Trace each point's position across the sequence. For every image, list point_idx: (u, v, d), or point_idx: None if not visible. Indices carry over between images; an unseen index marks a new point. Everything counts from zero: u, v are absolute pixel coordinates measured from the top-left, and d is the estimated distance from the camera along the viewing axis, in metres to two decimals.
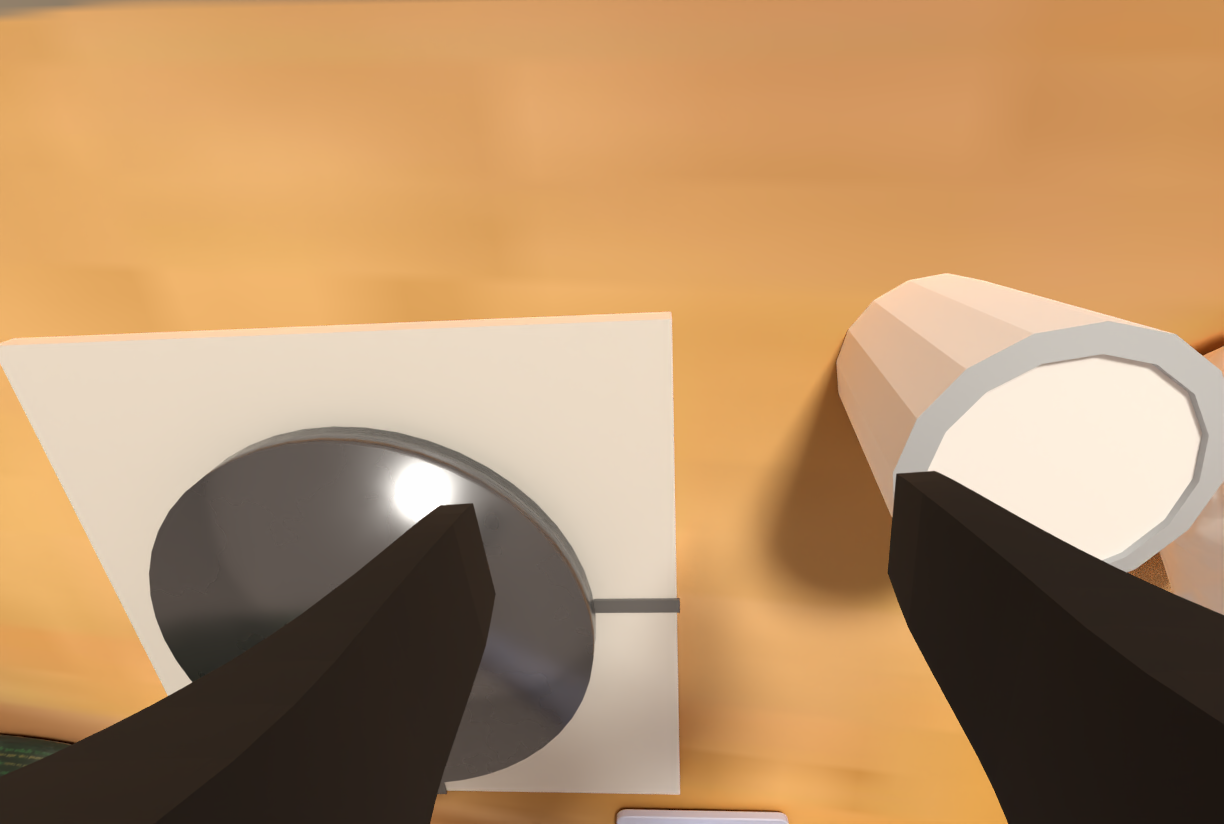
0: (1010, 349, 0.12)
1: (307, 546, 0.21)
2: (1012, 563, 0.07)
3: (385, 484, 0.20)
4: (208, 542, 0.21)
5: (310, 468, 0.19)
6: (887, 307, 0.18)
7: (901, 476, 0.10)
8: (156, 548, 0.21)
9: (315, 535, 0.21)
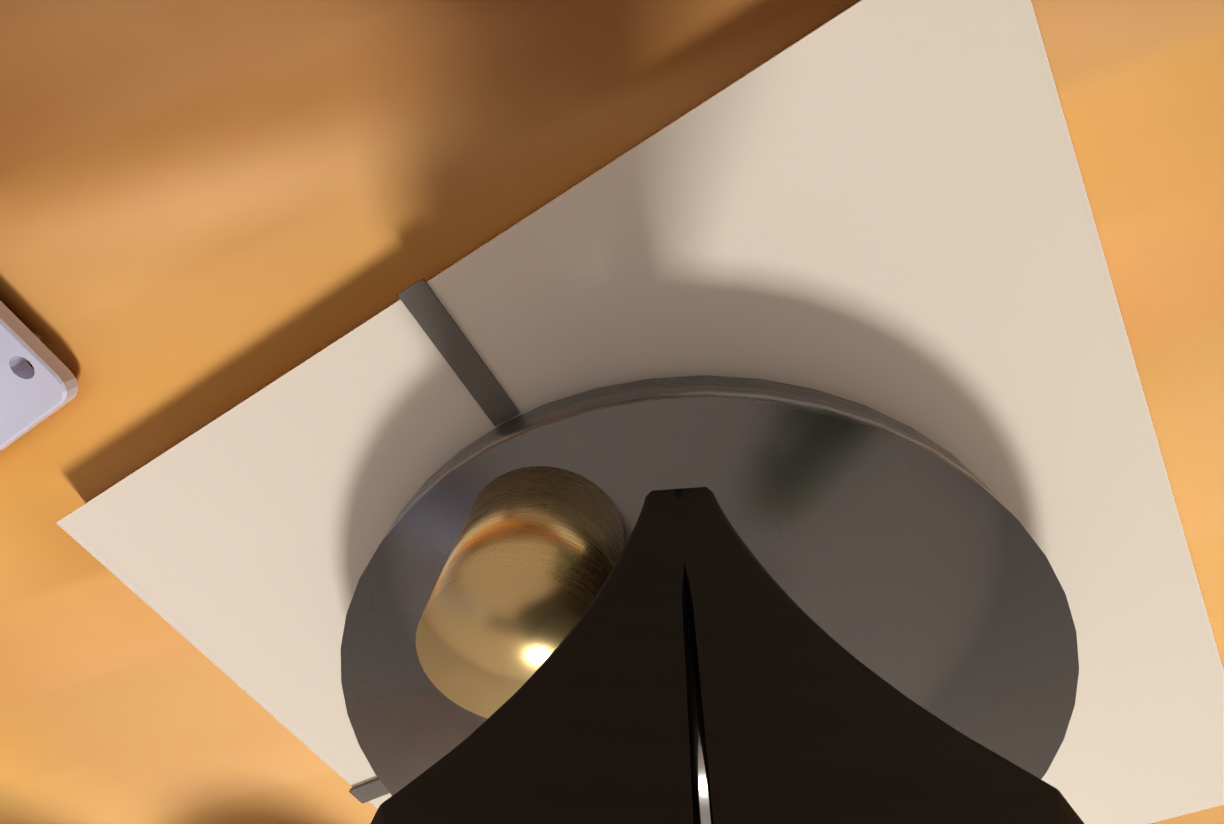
0: None
1: None
2: (692, 581, 0.07)
3: None
4: None
5: None
6: None
7: (670, 492, 0.10)
8: (1054, 746, 0.14)
9: None
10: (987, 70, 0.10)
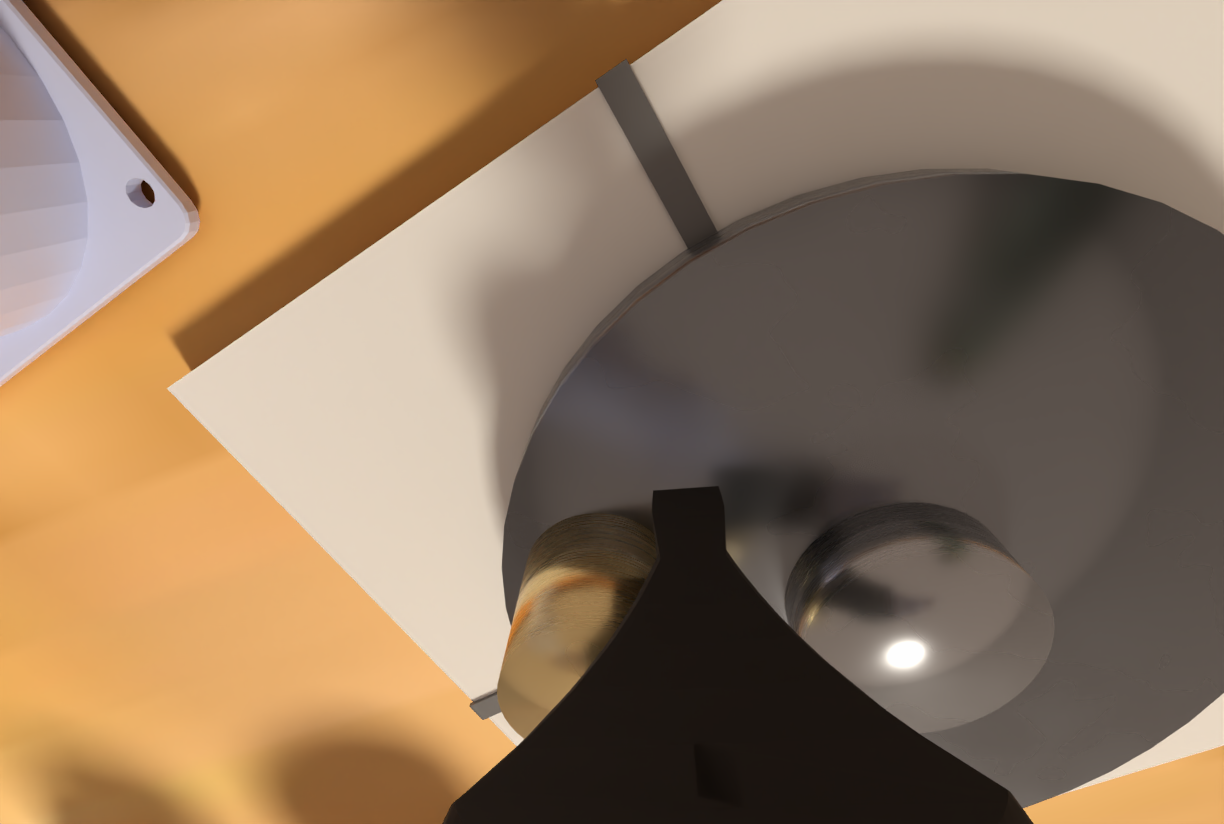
0: None
1: (1124, 554, 0.12)
2: (668, 582, 0.07)
3: (1172, 681, 0.13)
4: (1219, 393, 0.11)
5: None
6: None
7: (653, 493, 0.10)
8: None
9: (1138, 572, 0.12)
10: None
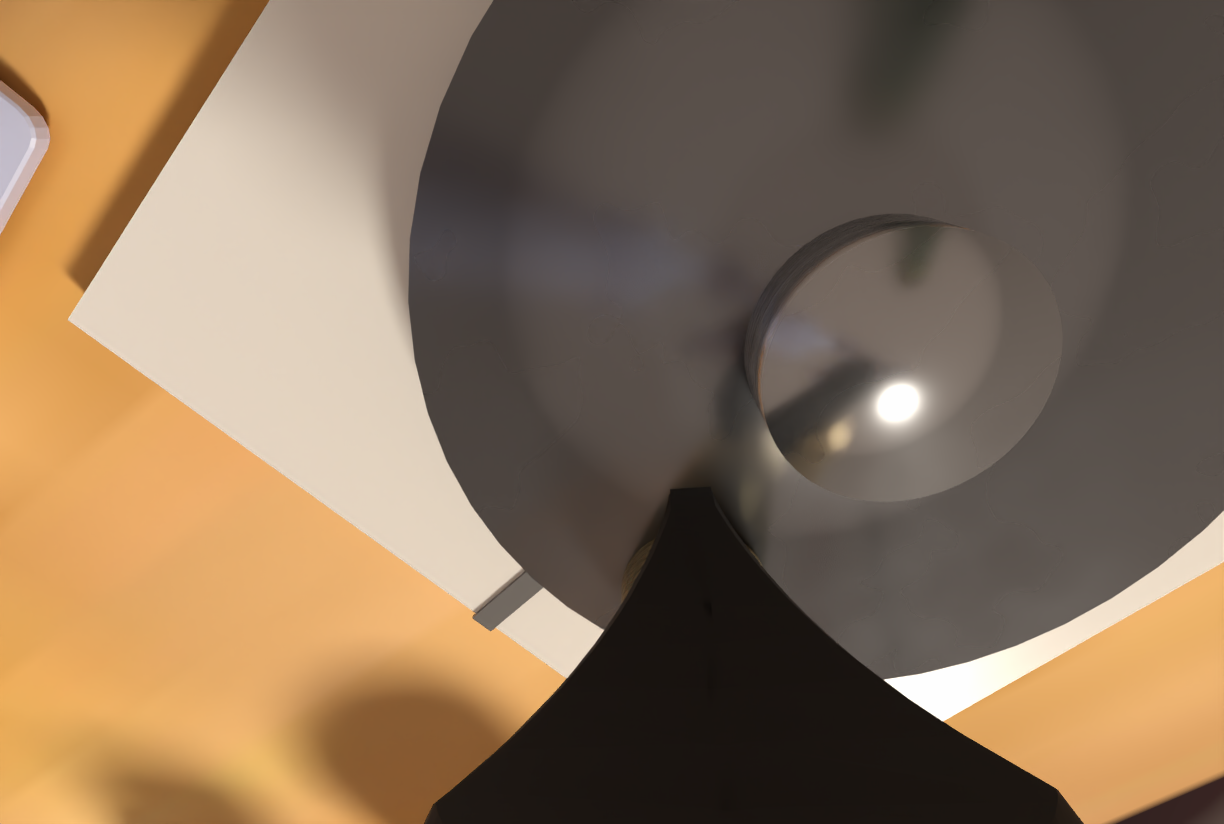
0: None
1: (977, 62, 0.09)
2: (692, 581, 0.07)
3: None
4: None
5: None
6: None
7: (670, 492, 0.10)
8: None
9: (1019, 46, 0.09)
10: None
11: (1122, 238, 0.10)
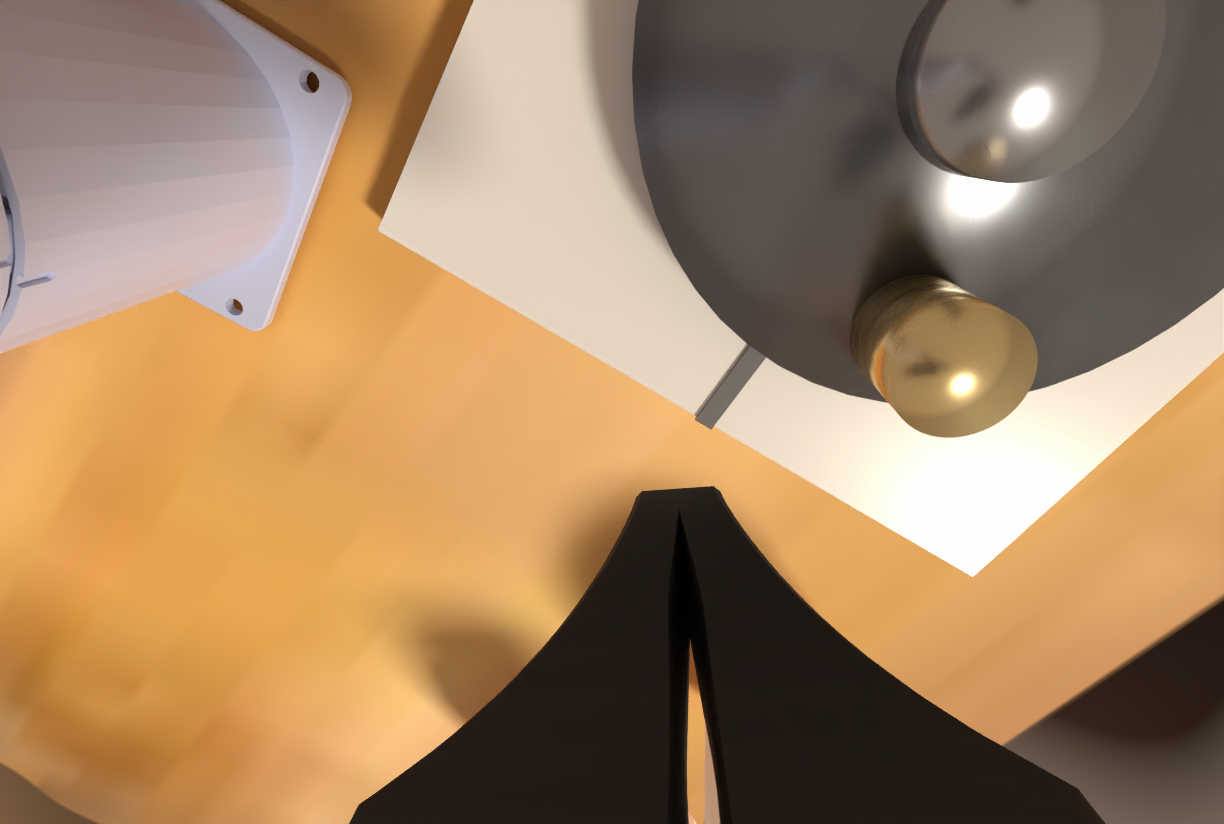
0: None
1: None
2: (702, 580, 0.07)
3: None
4: None
5: None
6: None
7: (678, 491, 0.10)
8: None
9: None
10: None
11: None
